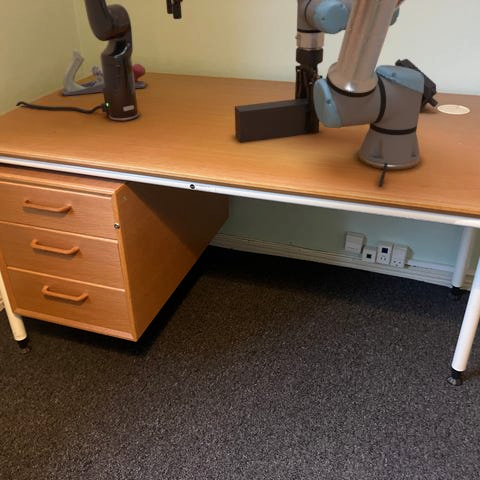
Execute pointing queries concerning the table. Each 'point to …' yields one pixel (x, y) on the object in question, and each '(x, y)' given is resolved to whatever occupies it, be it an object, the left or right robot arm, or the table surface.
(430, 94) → the tool
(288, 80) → the table surface
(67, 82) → the hand plane
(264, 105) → the bar
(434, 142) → the table surface
